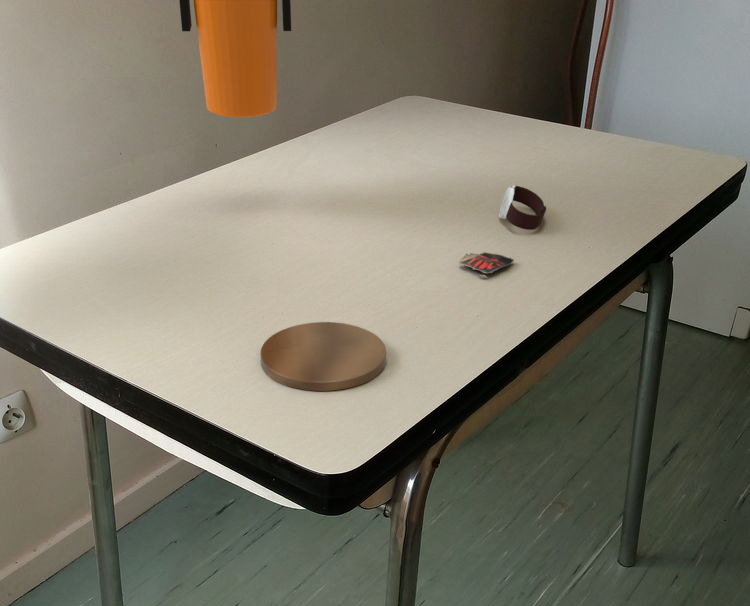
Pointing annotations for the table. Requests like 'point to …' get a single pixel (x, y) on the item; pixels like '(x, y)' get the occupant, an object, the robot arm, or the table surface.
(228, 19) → the shaker bottle
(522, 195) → the watch
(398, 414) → the table surface
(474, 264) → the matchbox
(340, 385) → the coaster
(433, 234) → the table surface
